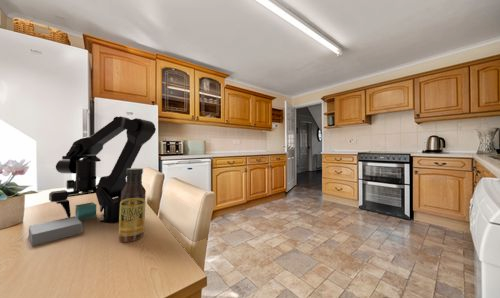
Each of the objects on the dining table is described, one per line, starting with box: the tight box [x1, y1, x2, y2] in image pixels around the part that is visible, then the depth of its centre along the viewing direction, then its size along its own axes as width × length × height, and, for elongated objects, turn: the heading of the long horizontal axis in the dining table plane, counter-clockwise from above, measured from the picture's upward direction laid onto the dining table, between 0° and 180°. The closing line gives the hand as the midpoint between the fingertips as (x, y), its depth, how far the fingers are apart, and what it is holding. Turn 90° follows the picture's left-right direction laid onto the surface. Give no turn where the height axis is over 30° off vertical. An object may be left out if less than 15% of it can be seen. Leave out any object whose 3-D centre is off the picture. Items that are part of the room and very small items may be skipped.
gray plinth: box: [28, 216, 83, 247], centre depth 56 cm, size 10×10×3 cm
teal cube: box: [74, 201, 97, 222], centre depth 70 cm, size 5×5×5 cm
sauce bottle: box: [118, 167, 147, 243], centre depth 53 cm, size 7×6×20 cm
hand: (85, 214), depth 70 cm, fingers open, 9 cm apart
